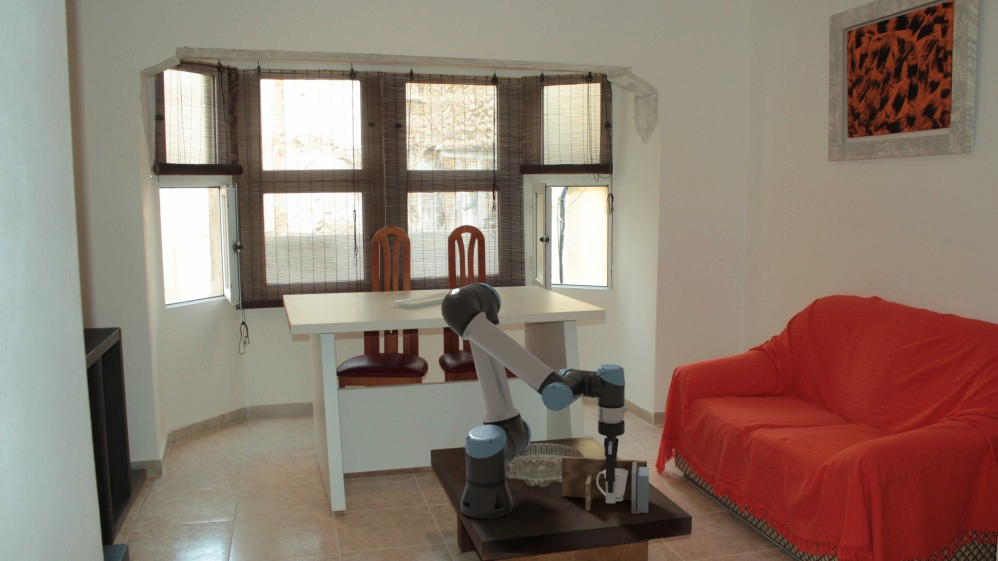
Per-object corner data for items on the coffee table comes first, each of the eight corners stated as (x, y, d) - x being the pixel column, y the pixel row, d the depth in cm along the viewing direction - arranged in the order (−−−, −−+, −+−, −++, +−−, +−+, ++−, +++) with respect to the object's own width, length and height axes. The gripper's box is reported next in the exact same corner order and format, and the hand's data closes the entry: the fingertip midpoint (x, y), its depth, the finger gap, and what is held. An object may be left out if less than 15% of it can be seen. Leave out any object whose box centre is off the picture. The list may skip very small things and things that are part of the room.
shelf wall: (562, 496, 249) (562, 457, 247) (562, 494, 250) (562, 456, 248) (646, 501, 244) (646, 462, 242) (646, 499, 245) (647, 460, 244)
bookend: (631, 513, 236) (631, 472, 234) (632, 500, 244) (632, 461, 243) (639, 513, 235) (640, 473, 234) (640, 501, 244) (641, 462, 242)
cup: (619, 504, 231) (620, 475, 230) (589, 497, 237) (590, 469, 237) (632, 498, 236) (633, 470, 236) (603, 491, 243) (603, 464, 242)
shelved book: (636, 512, 236) (637, 475, 235) (637, 502, 243) (637, 466, 242) (648, 512, 236) (648, 475, 234) (648, 503, 243) (648, 467, 241)
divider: (585, 510, 238) (585, 483, 237) (588, 499, 246) (588, 473, 245) (589, 510, 238) (590, 483, 237) (592, 499, 246) (592, 473, 245)
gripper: (623, 430, 224) (623, 512, 227) (625, 410, 242) (625, 485, 245) (595, 429, 225) (595, 510, 228) (600, 409, 244) (600, 484, 247)
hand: (611, 497), depth 237 cm, fingers closed on cup, 6 cm apart
